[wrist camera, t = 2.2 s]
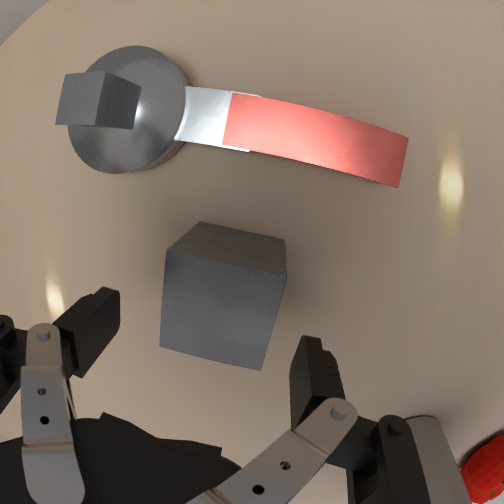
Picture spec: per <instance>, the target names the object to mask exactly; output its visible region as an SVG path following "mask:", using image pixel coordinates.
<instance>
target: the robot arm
mask: <svg viewBox="0 0 504 504" xmlns="http://www.w3.org/2000/svg"><path fill="white" fill-rule="evenodd" d="M119 326H120V293H119V291H117V290H113V289H110V288H107V287H101V288H100V289H99V290H98V291H97V292H96V293H95V294H89V295H87V296H84V297H82V298H80V299H79V300H78V301H77V302H76V303H75V304H74V305H72V306H71V307H70V308H69V309H68V310H67V311H65V312H64V313H63V314H62V315H61V316H60V317H59V318H58V319H57V320H55V321H54V322H53V323H52V324H49V323H40V324H36V325H34V326H33V327H31V328H30V329H29V331H27V330H21V329H16V328H15V327H14V323H13V320H12V318H10V317H9V316H7V315H0V414H1V413H2V412H3V410H4V409H5V407H6V406H7V405H8V403H9V402H10V401H11V399H12V398H13V397H14V395H15V394H16V393H17V391H18V390H19V389H20V387H21V416H22V430H23V436H22V437H19V438H15V439H12V440H8V441H5V442H1V443H0V504H288V503H289V502H290V501H291V500H292V499H293V498H294V497H295V496H296V495H297V494H298V493H299V492H300V491H301V490H302V488H303V487H304V486H305V485H306V484H307V483H308V482H309V481H310V480H311V479H312V478H313V476H314V475H315V474H316V473H317V472H318V471H319V470H320V469H321V467H322V466H323V465H324V464H325V463H328V464H331V465H335V466H338V467H341V468H345V469H346V475H347V489H348V504H472V502H471V499H470V496H469V494H468V491H467V488H466V486H465V483H464V480H463V478H462V475H461V473H460V470H459V468H458V465H457V463H456V461H455V458H454V456H453V453H452V451H451V449H450V446H449V444H448V442H447V439H446V437H445V435H444V433H443V430H442V428H441V426H440V424H439V422H438V421H437V420H436V419H435V418H432V417H426V416H424V417H416V418H411V419H408V420H404V419H403V418H401V417H399V416H395V415H386V416H384V417H382V418H381V419H380V420H379V422H375V421H372V420H369V419H365V418H363V417H360V416H358V413H357V410H356V408H355V407H354V406H353V405H352V404H351V403H350V402H348V401H346V398H345V394H344V390H343V386H342V382H341V377H340V373H339V370H338V365H337V361H336V359H335V358H334V356H333V355H332V354H331V352H330V351H325V350H323V348H322V343H321V339H320V338H317V337H311V336H305V335H303V336H302V337H301V339H300V342H299V345H298V347H297V350H296V353H295V356H294V358H293V361H292V364H291V368H290V374H289V379H290V406H291V429H289V430H288V431H287V432H285V433H284V434H283V435H282V436H281V437H280V438H279V439H277V440H276V441H275V442H274V443H273V444H272V445H270V446H269V447H268V448H267V449H266V450H264V451H263V452H262V453H261V454H259V455H258V456H257V457H256V458H255V459H253V460H252V461H251V462H249V463H248V464H247V465H246V466H244V467H243V468H241V467H240V466H239V465H237V464H236V463H234V462H233V461H231V460H229V459H227V458H225V457H223V456H221V451H222V448H221V447H217V446H212V445H207V444H203V443H199V442H194V441H188V440H172V439H161V438H156V437H154V436H153V435H151V434H149V433H147V432H146V431H144V430H142V429H140V428H139V427H137V426H135V425H134V424H132V423H131V422H128V421H125V420H123V419H120V418H117V417H115V416H112V415H110V414H107V413H105V412H103V413H102V415H101V417H100V418H99V419H94V418H81V419H77V415H76V411H75V406H74V401H73V395H72V389H71V383H70V379H69V378H70V377H71V376H72V375H75V376H77V377H80V378H83V377H84V375H85V374H86V373H87V371H88V370H89V369H90V367H91V366H92V365H93V363H94V362H95V361H96V359H97V358H98V357H99V355H100V354H101V353H102V351H103V350H104V349H105V348H106V346H107V345H108V344H109V342H110V341H111V340H112V339H113V337H114V336H115V335H116V333H117V332H118V329H119Z"/></svg>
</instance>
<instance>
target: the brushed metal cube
mask: <svg viewBox="0 0 504 504" xmlns="http://www.w3.org/2000/svg"><path fill="white" fill-rule="evenodd" d="M286 278H287V271H286V256H285V243H284V240H282V239H278V238H273V237H269V236H264V235H259V234H255V233H250V232H245V231H241V230H236V229H231V228H227V227H222V226H217V225H212V224H208V223H203V222H199V223H198V224H196V225H195V226H194V227H193V228H192V229H191V230H189V231H188V232H187V233H186V234H185V235H184V236H182V237H181V238H180V239H179V240H178V241H177V242H175V243H174V244H173V245H172V246H171V247H170V248H169V249H167V252H166V261H165V272H164V283H163V296H162V310H161V327H160V347H164V348H167V349H171V350H174V351H178V352H182V353H185V354H189V355H193V356H197V357H201V358H205V359H209V360H213V361H217V362H222V363H226V364H231V365H235V366H240V367H245V368H250V369H255V370H260V371H261V368H262V364H263V361H264V357H265V354H266V351H267V347H268V344H269V340H270V337H271V333H272V330H273V326H274V322H275V319H276V315H277V312H278V308H279V304H280V301H281V297H282V293H283V290H284V286H285V282H286Z"/></svg>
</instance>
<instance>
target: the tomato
mask: <svg viewBox="0 0 504 504" xmlns="http://www.w3.org/2000/svg"><path fill="white" fill-rule="evenodd" d="M460 473H461V475H462V478H463V480H464V483H465V486H466V488H467V491H468V494H469V496H470V499H471V501H472V502H474V503H478V504H483V503H485V502H487V501H488V500H492V499H494V498H495V497H497V496H498V495H500V494H501V493H502V491H503V490H504V435H500V436H497V437H495V438H493V439H492V440H491V441H490V442H489V443H488V444H486V445H484V446H482V447H481V448H479V449H478V450H477V451H476V452H475V453H474V454H473V455H472V456H471V457H470V458H469V460H468V461H467V463H466V464H465V465H464V466H463V467H462V469H461V471H460Z"/></svg>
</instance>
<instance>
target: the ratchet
mask: <svg viewBox="0 0 504 504" xmlns="http://www.w3.org/2000/svg"><path fill="white" fill-rule="evenodd" d="M55 124H57V125H68V132H69V137H70V140H71V143H72V145H73V147H74V150H75V151H76V153H77V154H78V156H79V157H80V158H81V159H82V160H83V162H85V163H86V164H87V165H88V166H90V167H91V168H93V169H95V170H97V171H100V172H104V173H110V174H119V173H127V172H134V171H141V170H147V169H151V168H154V167H156V166H159V165H161V164H163V163H164V162H166V161H167V160H169V159H170V158H171V157H172V156H174V155H175V154H176V153H177V152H178V151H179V150H180V148H181V147H182V146H183V145H184V143H185V142H192V143H199V144H205V145H212V146H218V147H224V148H230V149H235V150H241V151H246V152H251V153H253V151H254V152H260V153H264V154H269V155H274V156H279V157H283V158H288V159H292V160H297V161H301V162H305V163H309V164H313V165H317V166H321V167H325V168H329V169H333V170H337V171H340V172H344V173H348V174H351V175H355V176H358V177H362V178H365V179H369V180H372V181H375V182H378V183H382V184H385V185H389V186H392V187H396V188H398V185H399V181H400V176H401V172H402V167H403V163H404V158H405V153H406V148H407V143H408V138H407V137H405V136H402V135H399V134H397V133H394V132H391V131H388V130H385V129H382V128H380V127H377V126H374V125H371V124H367V123H364V122H361V121H358V120H355V119H351V118H348V117H344V116H341V115H337V114H334V113H330V112H326V111H323V110H319V109H315V108H311V107H306V106H302V105H298V104H293V103H289V102H284V101H279V100H274V99H269V98H263V97H261V96H258V95H252V94H246V93H240V92H233V91H226V90H218V89H209V88H200V87H193V85H192V83H191V81H190V79H189V78H188V76H187V75H186V74H185V73H184V72H183V71H182V70H181V69H180V68H179V67H178V66H177V65H175V64H174V63H173V62H172V61H171V60H169V59H168V58H167V57H166V56H164V55H163V54H162V53H160V52H159V51H157V50H155V49H152V48H149V47H144V46H127V47H122V48H119V49H116V50H113V51H111V52H109V53H107V54H106V55H104V56H102V57H101V58H100V59H98V60H97V61H96V62H95V63H93V64H92V65H91V66H90V67H89V68H88V70H87V71H86V72H85V73H74V74H66V75H65V79H64V83H63V87H62V92H61V96H60V101H59V106H58V112H57V117H56V123H55Z"/></svg>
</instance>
